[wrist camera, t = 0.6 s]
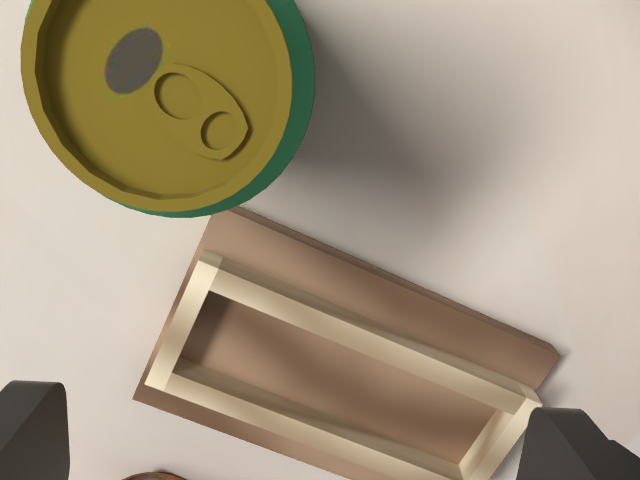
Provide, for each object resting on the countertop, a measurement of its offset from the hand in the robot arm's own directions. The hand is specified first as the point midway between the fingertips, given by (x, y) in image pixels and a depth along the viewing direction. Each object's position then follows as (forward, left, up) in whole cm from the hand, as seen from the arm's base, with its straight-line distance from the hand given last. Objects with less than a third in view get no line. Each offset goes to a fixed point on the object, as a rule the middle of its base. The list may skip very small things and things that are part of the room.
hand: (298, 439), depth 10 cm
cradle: (+9, +6, -19) cm, 22 cm away
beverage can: (-3, -6, -19) cm, 20 cm away
